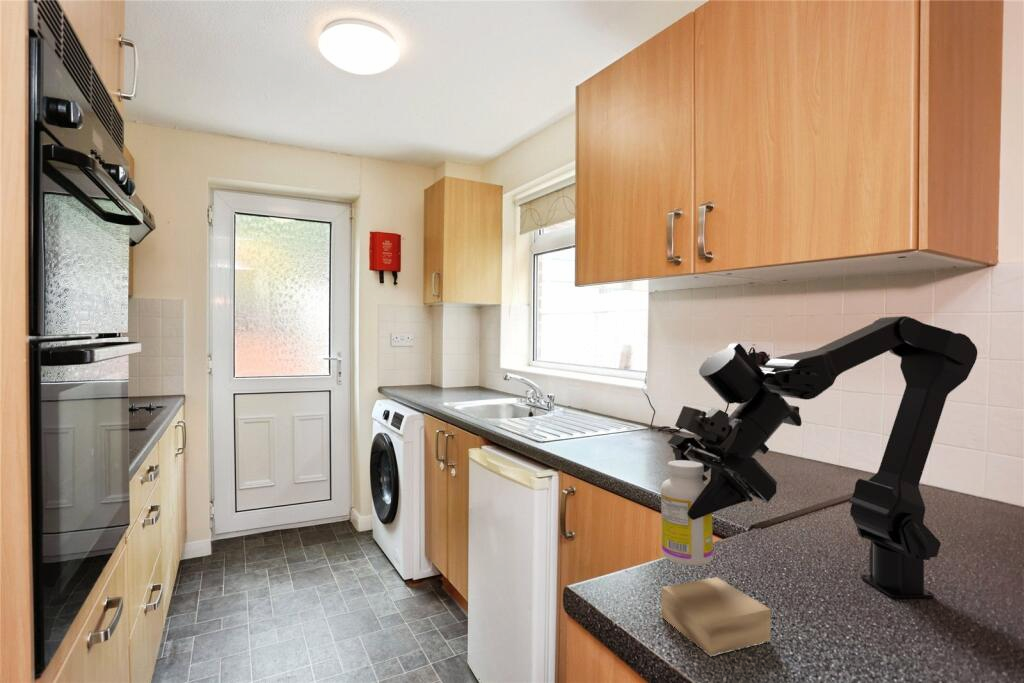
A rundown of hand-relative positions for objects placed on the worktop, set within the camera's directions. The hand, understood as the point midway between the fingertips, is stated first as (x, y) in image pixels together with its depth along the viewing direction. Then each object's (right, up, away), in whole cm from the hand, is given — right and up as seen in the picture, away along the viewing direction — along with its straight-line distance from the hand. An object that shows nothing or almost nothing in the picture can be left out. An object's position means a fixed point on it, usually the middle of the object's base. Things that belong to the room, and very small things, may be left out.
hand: (676, 508), depth 70 cm
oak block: (+3, -13, -6) cm, 15 cm away
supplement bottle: (+1, -7, 0) cm, 7 cm away
